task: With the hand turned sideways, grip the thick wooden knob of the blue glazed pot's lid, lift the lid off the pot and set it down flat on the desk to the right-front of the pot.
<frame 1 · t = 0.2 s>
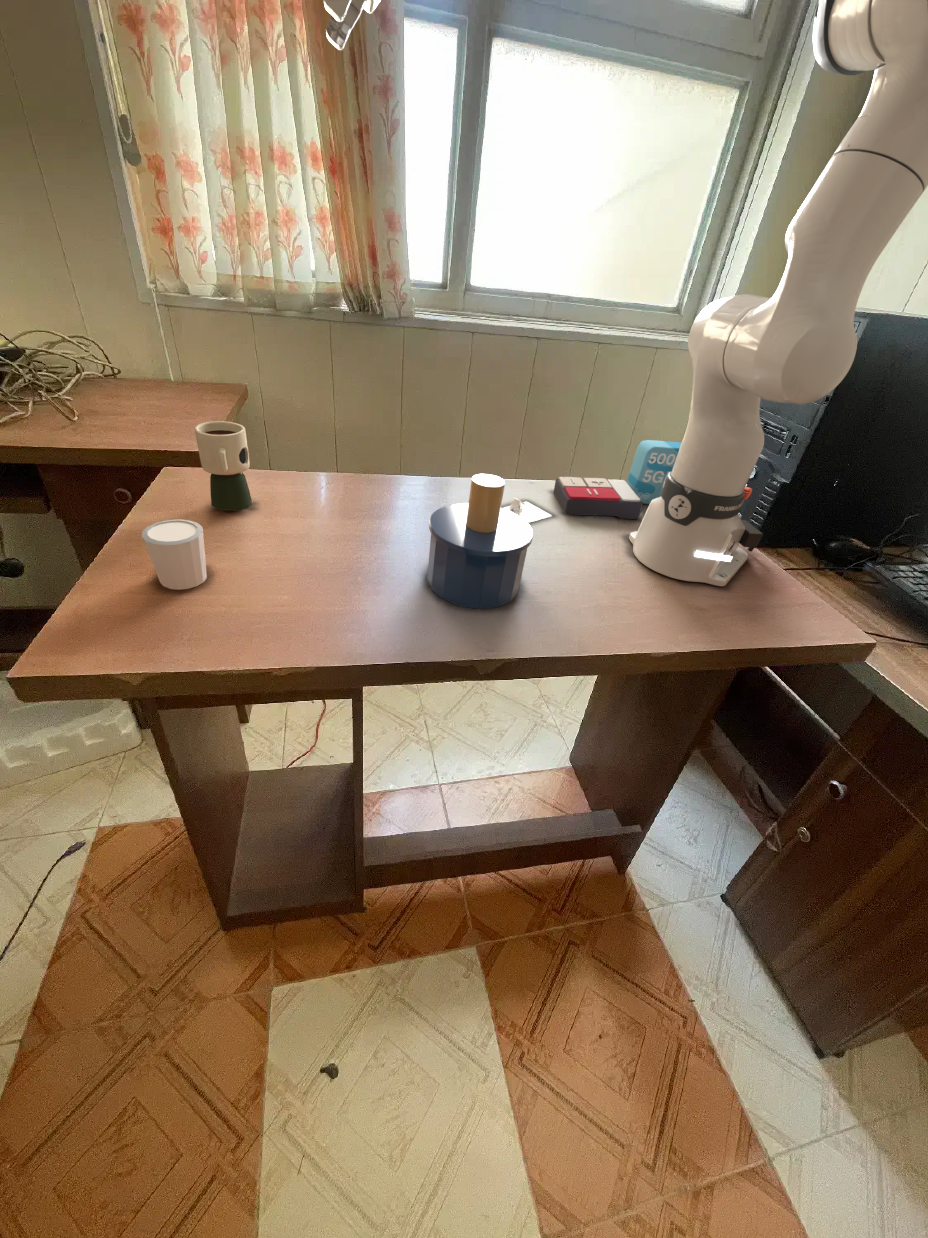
hand: (332, 29, 46), 54 cm above the table, tool tilted 30°, fingers open, 8 cm apart
adhesive hook: (521, 514, 99), on the table
white tapered cup: (184, 579, 70), on the table
data package: (651, 501, 112), on the table
character mug: (232, 507, 87), on the table
pot: (472, 582, 77), on the table
lid: (480, 530, 72), point 8 cm above the table, touching pot
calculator: (593, 506, 106), on the table
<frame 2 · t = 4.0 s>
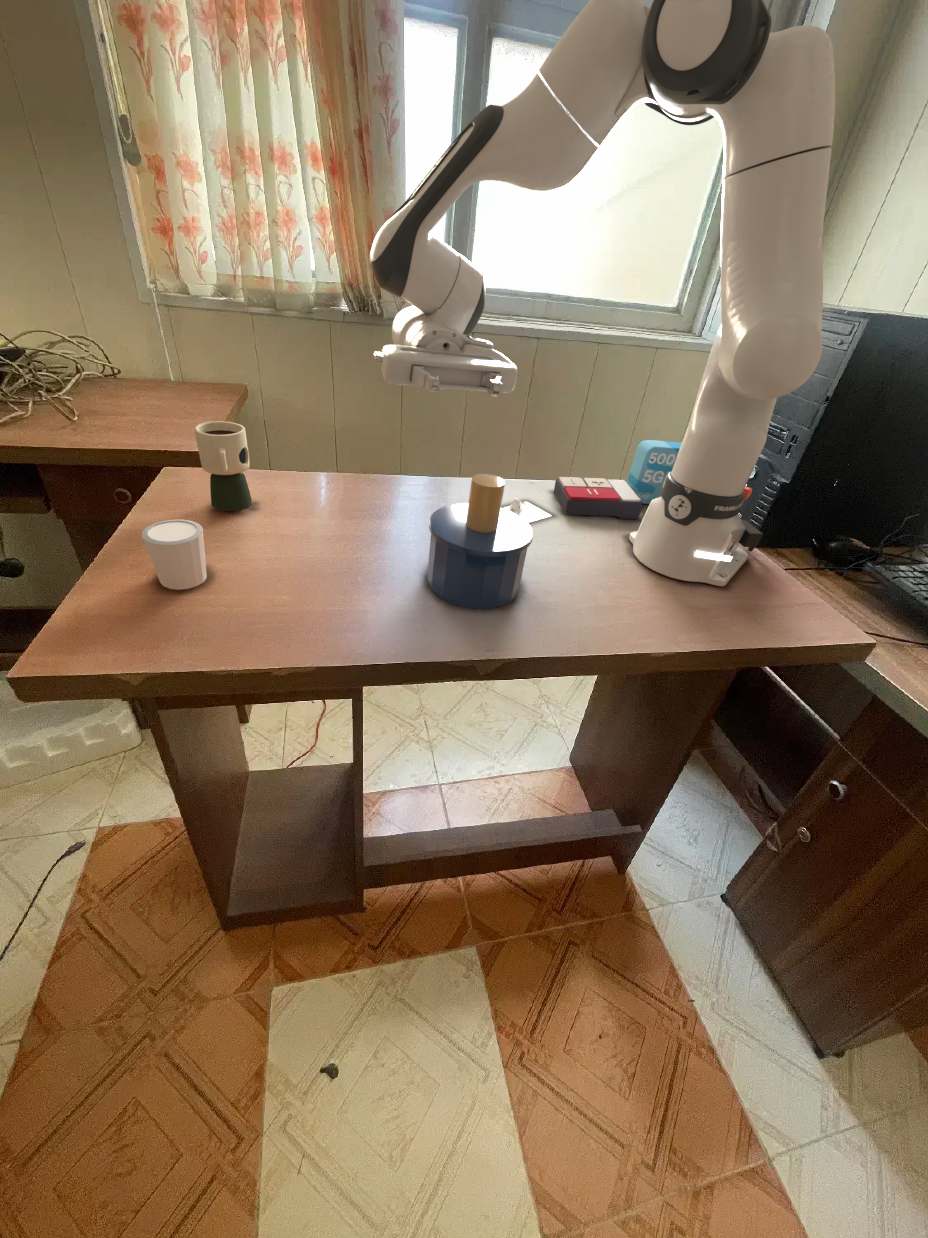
hand: (466, 388, 71), 24 cm above the table, tool horizontal, fingers open, 8 cm apart
nothing on the table moved.
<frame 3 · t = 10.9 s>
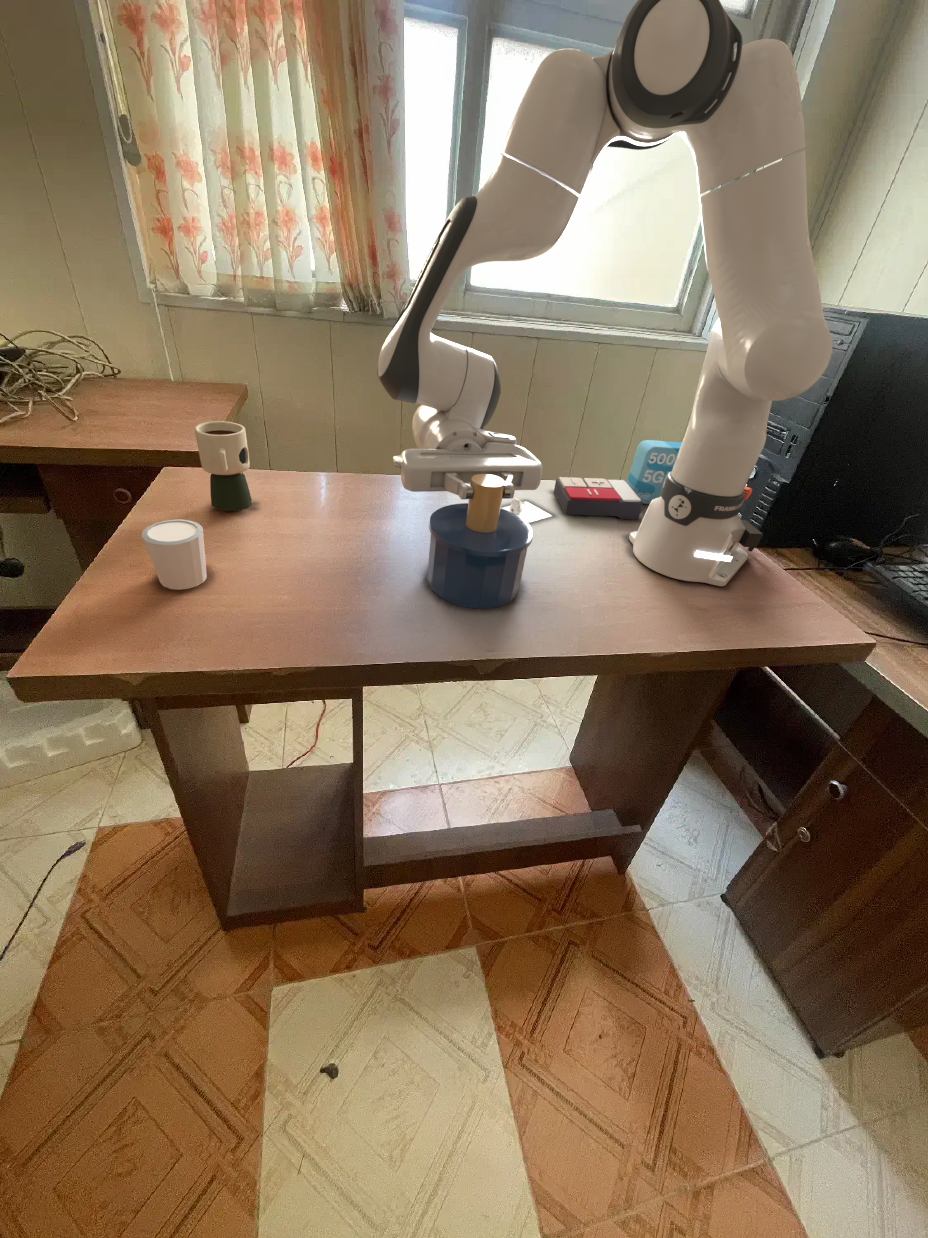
hand: (489, 493, 68), 14 cm above the table, tool horizontal, fingers closed on lid, 4 cm apart
lid: (480, 530, 72), point 8 cm above the table, touching gripper, pot
everything else where it was.
when the fingers open (6 cm above the table, at t = 20.8 s): lid stays where it is, point 1 cm above the table.
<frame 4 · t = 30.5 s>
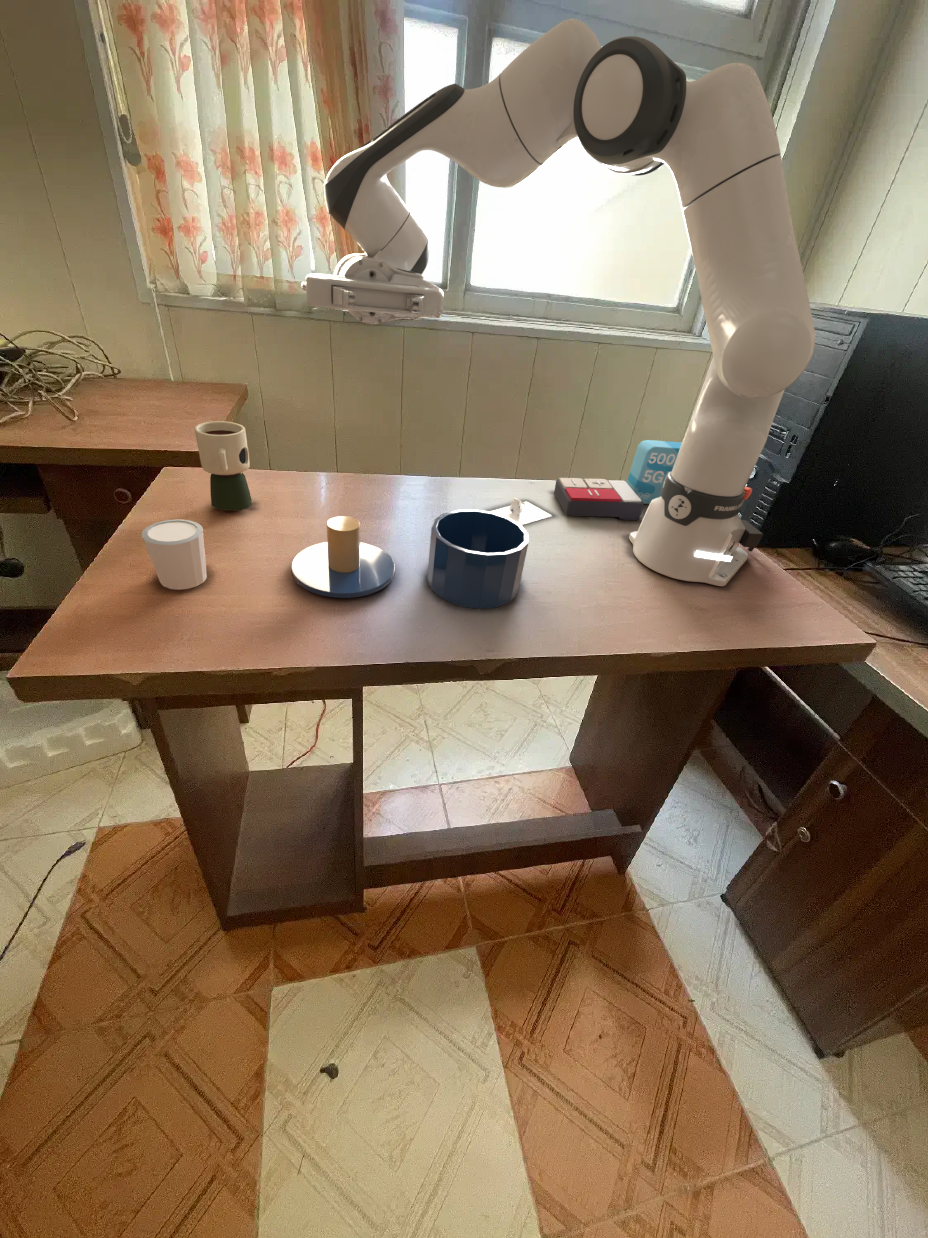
hand: (384, 303, 73), 32 cm above the table, tool horizontal, fingers open, 8 cm apart
lid: (344, 569, 75), point 1 cm above the table
everything else where it was.
at the end: lid inside the target area (0.1 cm from its centre), point 0.6 cm above the table; lid tilted 0°; the gripper is holding nothing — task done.
